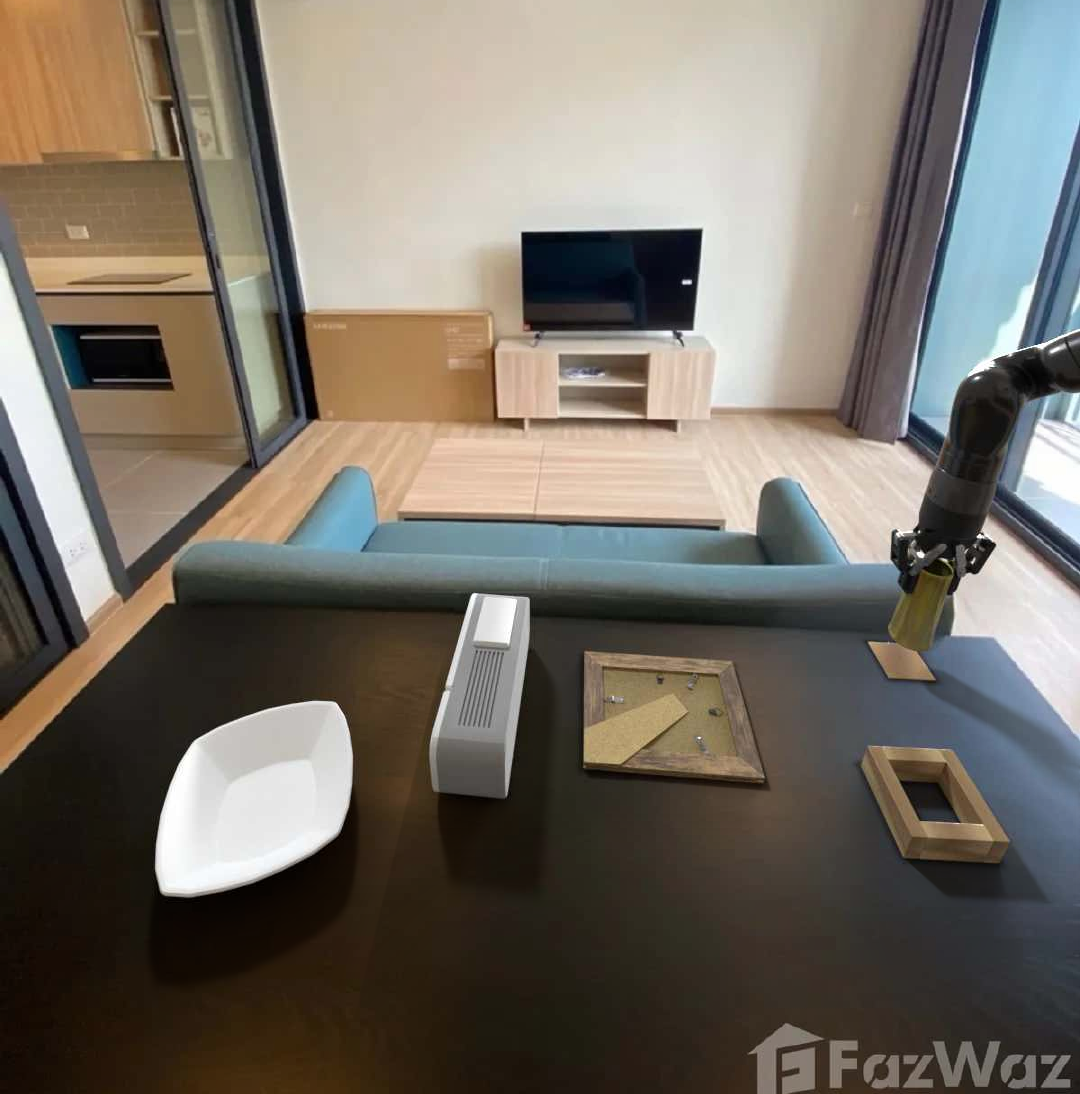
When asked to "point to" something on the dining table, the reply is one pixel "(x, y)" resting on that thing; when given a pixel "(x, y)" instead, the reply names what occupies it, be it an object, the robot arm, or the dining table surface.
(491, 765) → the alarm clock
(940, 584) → the vase
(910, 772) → the holder
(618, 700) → the picture frame
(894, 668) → the coaster
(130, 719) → the dining table surface
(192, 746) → the bowl
